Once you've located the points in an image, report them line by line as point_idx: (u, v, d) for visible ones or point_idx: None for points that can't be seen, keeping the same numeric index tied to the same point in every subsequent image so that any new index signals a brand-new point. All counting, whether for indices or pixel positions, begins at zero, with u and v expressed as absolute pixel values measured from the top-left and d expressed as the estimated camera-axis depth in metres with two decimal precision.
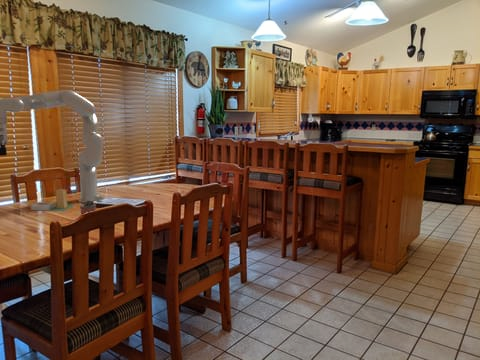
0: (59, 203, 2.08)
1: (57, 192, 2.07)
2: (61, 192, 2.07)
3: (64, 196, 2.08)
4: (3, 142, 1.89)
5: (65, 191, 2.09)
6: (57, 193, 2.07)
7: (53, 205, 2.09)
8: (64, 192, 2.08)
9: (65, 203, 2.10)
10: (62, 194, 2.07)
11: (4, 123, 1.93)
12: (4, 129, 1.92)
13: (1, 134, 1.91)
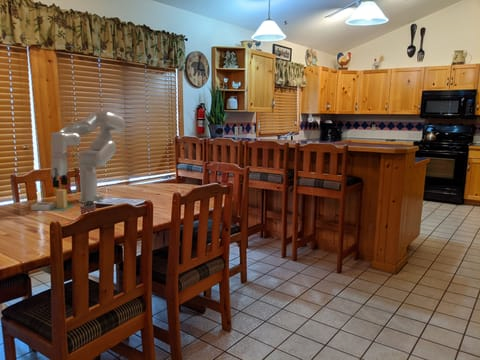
0: (59, 203, 2.08)
1: (57, 192, 2.07)
2: (61, 192, 2.07)
3: (64, 196, 2.08)
4: None
5: (65, 191, 2.09)
6: (57, 193, 2.07)
7: (53, 205, 2.09)
8: (64, 192, 2.08)
9: (65, 203, 2.10)
10: (62, 194, 2.07)
11: None
12: None
13: None
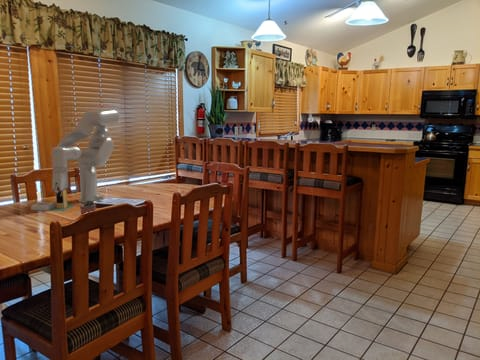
0: (59, 203, 2.08)
1: None
2: None
3: (64, 196, 2.09)
4: None
5: (65, 191, 2.09)
6: None
7: (53, 205, 2.09)
8: (64, 192, 2.08)
9: (65, 203, 2.10)
10: (62, 194, 2.07)
11: None
12: None
13: None
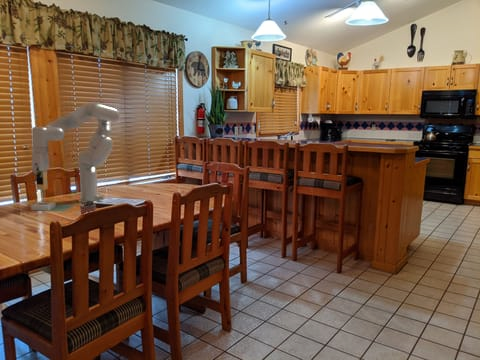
0: (39, 184, 2.03)
1: None
2: None
3: (44, 177, 2.03)
4: None
5: (45, 172, 2.04)
6: None
7: (53, 205, 2.09)
8: (44, 173, 2.03)
9: (45, 185, 2.05)
10: (42, 176, 2.02)
11: None
12: None
13: None
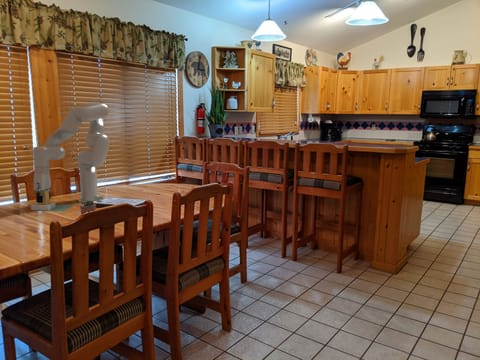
0: (41, 204, 2.05)
1: None
2: (43, 193, 2.04)
3: (46, 197, 2.05)
4: None
5: (47, 192, 2.06)
6: None
7: (53, 205, 2.09)
8: (46, 193, 2.05)
9: (47, 204, 2.07)
10: (44, 195, 2.04)
11: None
12: None
13: None
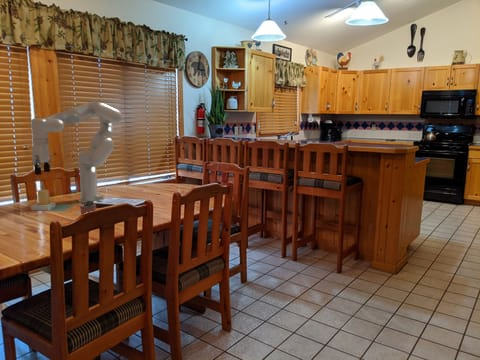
0: (41, 204, 2.05)
1: (39, 193, 2.04)
2: (43, 193, 2.04)
3: (46, 197, 2.05)
4: None
5: (47, 192, 2.06)
6: (39, 194, 2.04)
7: (53, 205, 2.09)
8: (46, 193, 2.05)
9: (47, 204, 2.07)
10: (44, 195, 2.04)
11: None
12: None
13: None
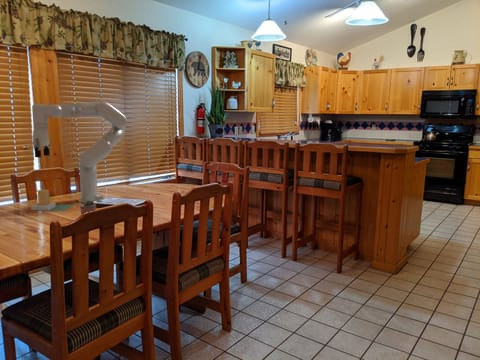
0: (41, 204, 2.05)
1: (39, 193, 2.04)
2: (43, 193, 2.04)
3: (46, 197, 2.05)
4: None
5: (47, 192, 2.06)
6: (39, 194, 2.04)
7: (53, 205, 2.09)
8: (46, 193, 2.05)
9: (47, 204, 2.07)
10: (44, 195, 2.04)
11: None
12: None
13: None
